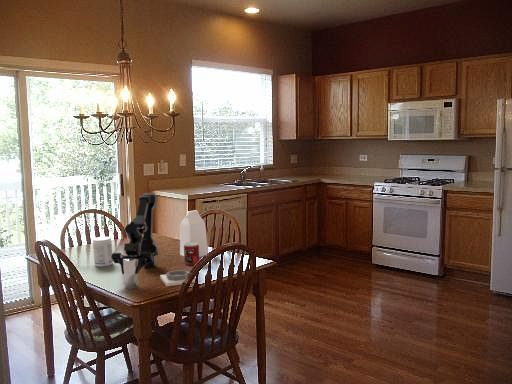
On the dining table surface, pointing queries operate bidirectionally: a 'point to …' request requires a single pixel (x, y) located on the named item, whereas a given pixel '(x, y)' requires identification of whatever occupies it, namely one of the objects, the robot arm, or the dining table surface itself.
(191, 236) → the milk
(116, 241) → the dining table surface
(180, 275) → the flange plate
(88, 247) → the dining table surface
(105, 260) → the supplement tub
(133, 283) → the tube
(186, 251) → the canned food
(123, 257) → the robot arm
